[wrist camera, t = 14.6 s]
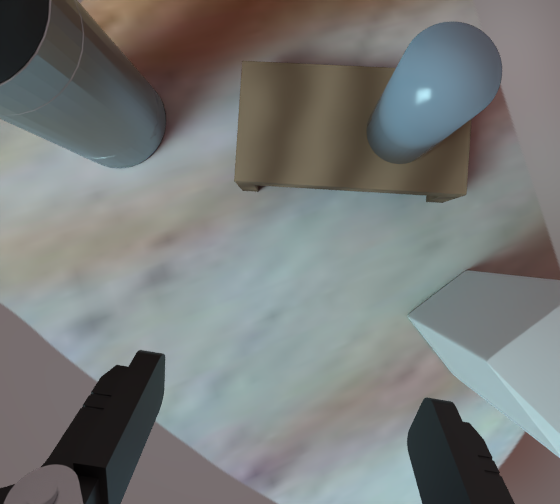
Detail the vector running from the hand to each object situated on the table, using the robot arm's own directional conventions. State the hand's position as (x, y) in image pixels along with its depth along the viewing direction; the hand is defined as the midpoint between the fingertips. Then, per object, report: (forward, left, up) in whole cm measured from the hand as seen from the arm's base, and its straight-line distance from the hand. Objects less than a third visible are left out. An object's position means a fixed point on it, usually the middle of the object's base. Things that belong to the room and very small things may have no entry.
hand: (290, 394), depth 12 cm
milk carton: (+16, -1, -25) cm, 29 cm away
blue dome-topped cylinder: (+8, +15, -19) cm, 26 cm away
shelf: (+4, +15, -24) cm, 29 cm away
